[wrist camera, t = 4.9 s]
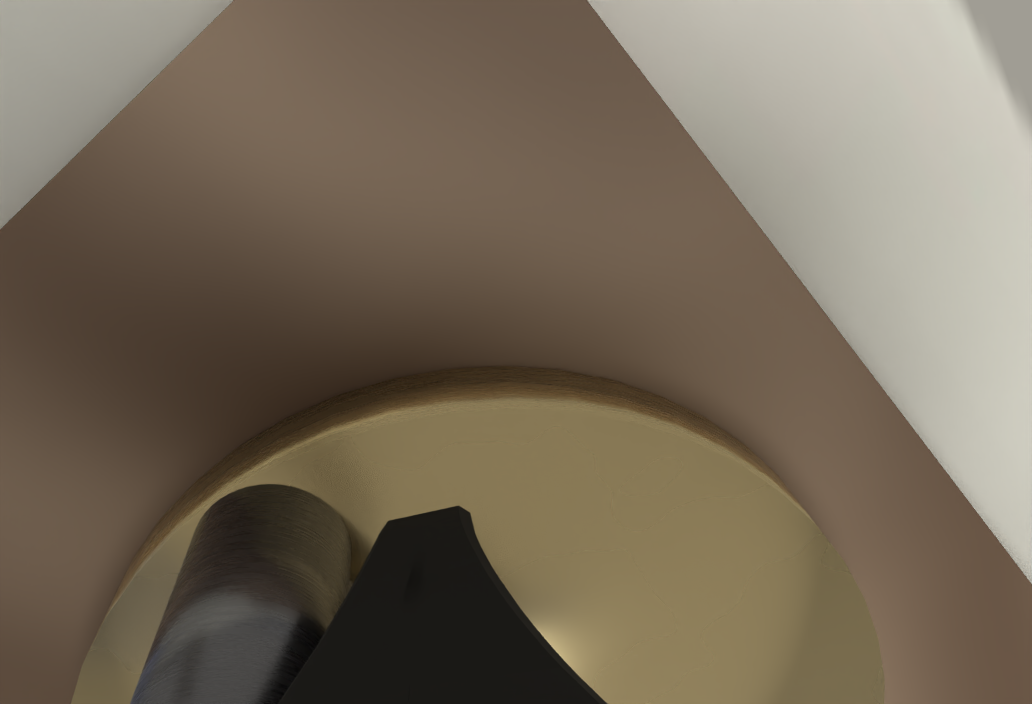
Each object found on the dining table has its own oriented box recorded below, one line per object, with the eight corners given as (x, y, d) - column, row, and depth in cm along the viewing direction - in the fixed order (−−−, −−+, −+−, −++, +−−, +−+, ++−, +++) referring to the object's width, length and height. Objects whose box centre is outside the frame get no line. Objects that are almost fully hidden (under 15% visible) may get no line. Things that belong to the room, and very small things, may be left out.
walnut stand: (571, 1056, 21) (603, 1251, 18) (-260, 499, 14) (-459, 654, 11) (1103, 695, 19) (1249, 843, 16) (431, -177, 12) (444, -238, 9)
